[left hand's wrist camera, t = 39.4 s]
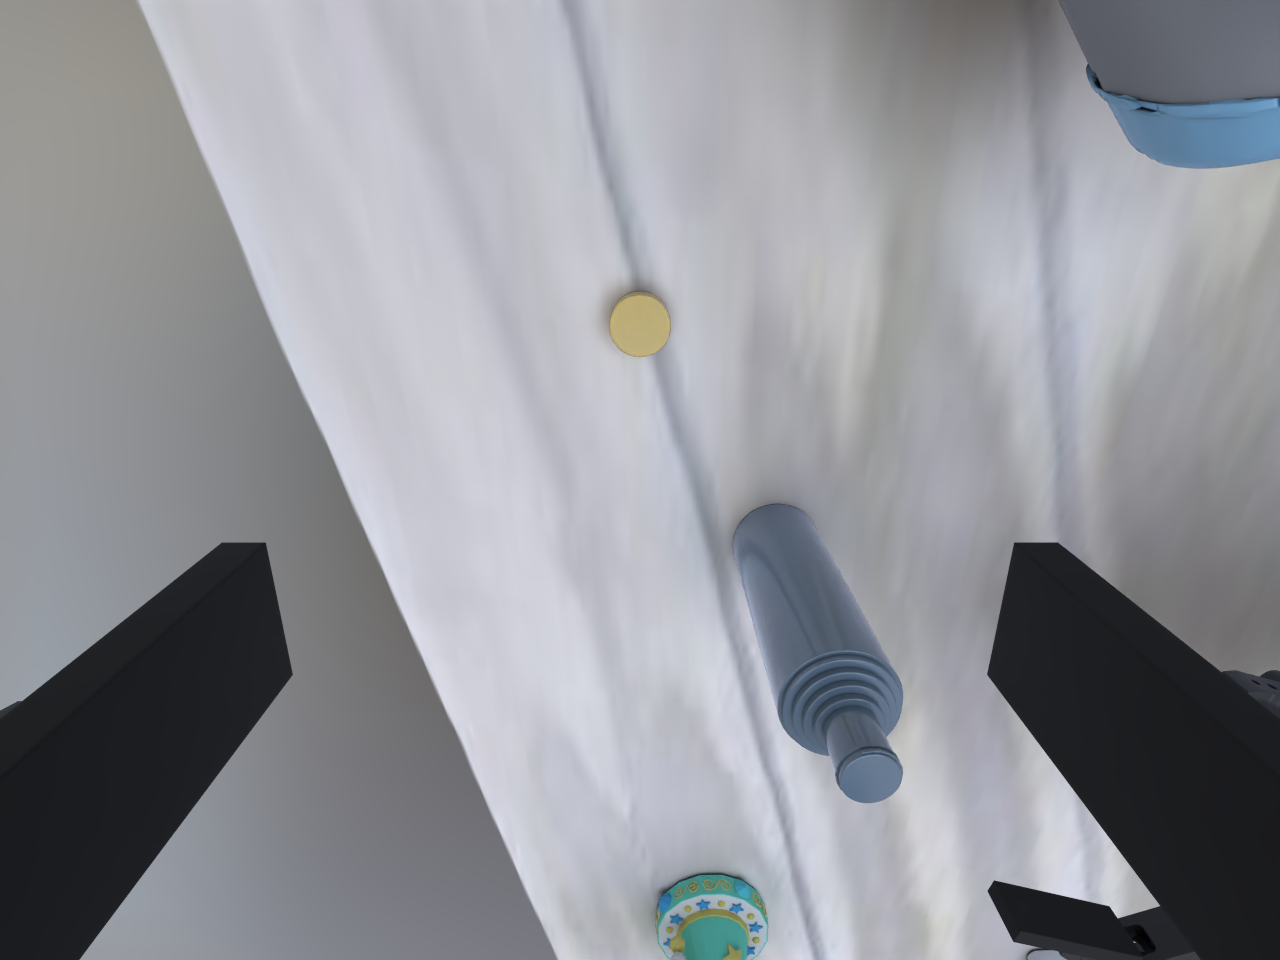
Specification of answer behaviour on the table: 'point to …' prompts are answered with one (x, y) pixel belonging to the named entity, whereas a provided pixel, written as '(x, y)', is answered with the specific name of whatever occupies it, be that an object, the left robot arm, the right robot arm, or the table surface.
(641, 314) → the cap
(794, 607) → the bottle
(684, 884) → the decorative hourglass
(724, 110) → the table surface
